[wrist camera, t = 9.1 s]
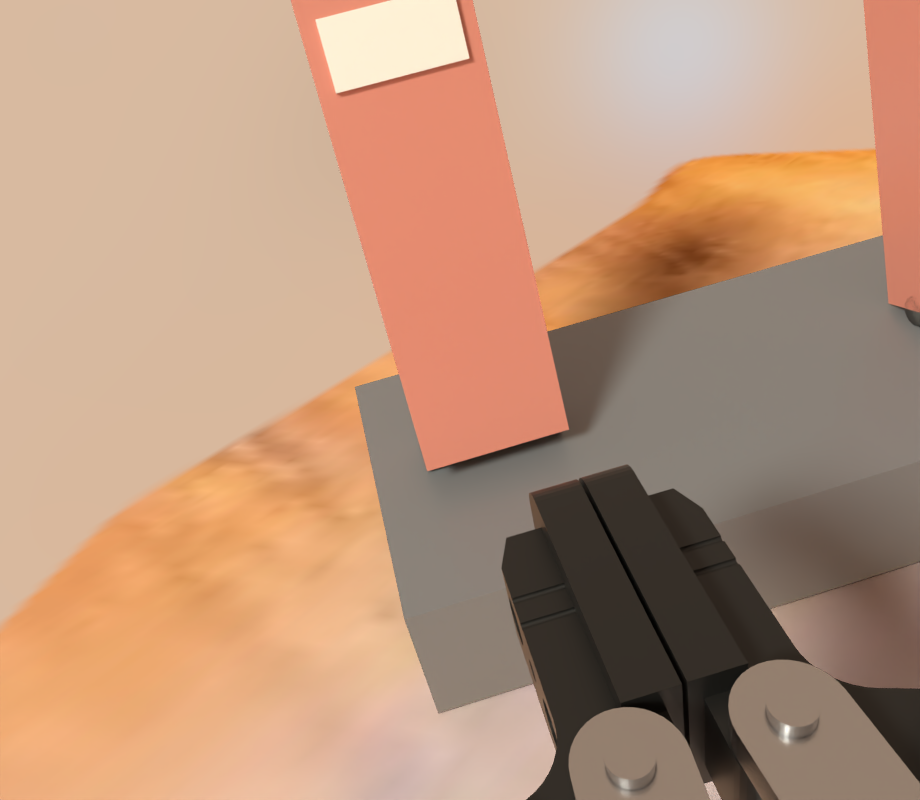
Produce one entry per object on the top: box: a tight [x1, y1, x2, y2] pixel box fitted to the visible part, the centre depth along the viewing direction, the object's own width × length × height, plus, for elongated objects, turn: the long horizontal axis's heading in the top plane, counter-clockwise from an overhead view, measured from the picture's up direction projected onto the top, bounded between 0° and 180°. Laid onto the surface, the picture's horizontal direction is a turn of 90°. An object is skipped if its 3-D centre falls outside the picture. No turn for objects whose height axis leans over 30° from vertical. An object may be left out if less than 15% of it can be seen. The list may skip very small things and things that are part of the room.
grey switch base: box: [355, 236, 920, 713], centre depth 26 cm, size 22×10×4 cm, turn 103°
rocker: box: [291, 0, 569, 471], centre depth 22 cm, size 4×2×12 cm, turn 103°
